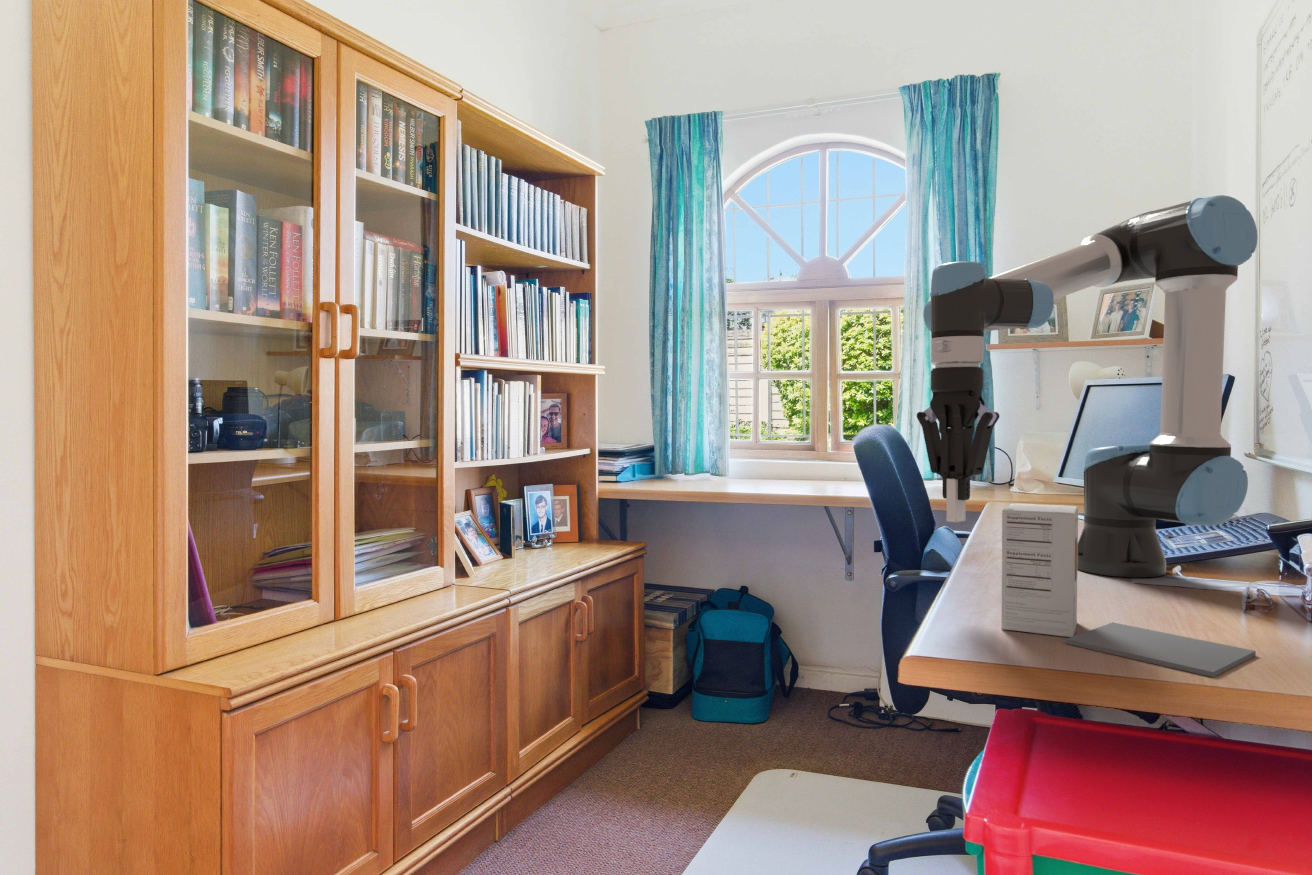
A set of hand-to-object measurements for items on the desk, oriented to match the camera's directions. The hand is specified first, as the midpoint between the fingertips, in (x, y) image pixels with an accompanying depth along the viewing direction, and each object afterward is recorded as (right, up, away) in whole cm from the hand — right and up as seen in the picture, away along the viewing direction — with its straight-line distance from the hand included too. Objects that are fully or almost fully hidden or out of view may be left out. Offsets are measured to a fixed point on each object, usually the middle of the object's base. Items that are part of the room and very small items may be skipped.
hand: (956, 520), depth 127 cm
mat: (+18, -14, -22) cm, 31 cm away
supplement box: (+8, -14, -10) cm, 19 cm away
